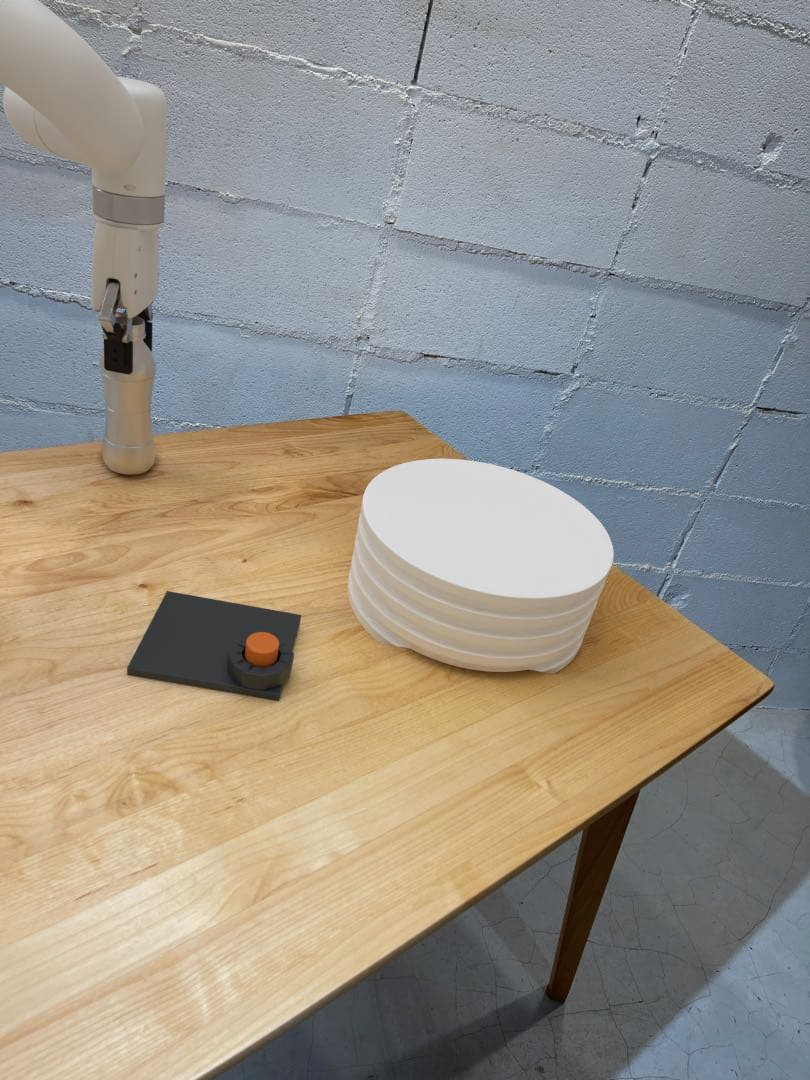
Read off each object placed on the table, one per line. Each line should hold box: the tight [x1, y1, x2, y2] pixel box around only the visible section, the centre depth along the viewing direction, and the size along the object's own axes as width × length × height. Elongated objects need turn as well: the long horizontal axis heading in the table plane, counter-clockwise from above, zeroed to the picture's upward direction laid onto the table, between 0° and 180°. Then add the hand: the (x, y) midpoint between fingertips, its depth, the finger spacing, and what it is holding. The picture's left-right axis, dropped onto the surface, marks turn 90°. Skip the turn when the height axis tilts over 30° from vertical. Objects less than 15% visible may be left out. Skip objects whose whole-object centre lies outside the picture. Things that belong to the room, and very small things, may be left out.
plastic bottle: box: [99, 316, 157, 476], centre depth 101 cm, size 6×7×20 cm
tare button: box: [245, 632, 279, 667], centre depth 76 cm, size 3×3×2 cm
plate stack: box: [346, 458, 615, 675], centre depth 92 cm, size 28×28×12 cm
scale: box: [126, 590, 302, 702], centre depth 79 cm, size 14×12×4 cm
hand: (128, 360), depth 99 cm, fingers closed on plastic bottle, 6 cm apart
